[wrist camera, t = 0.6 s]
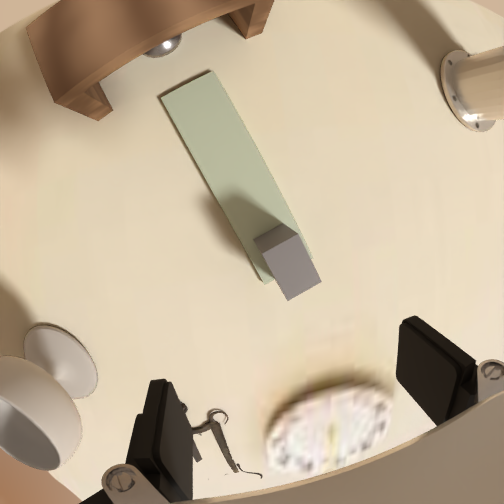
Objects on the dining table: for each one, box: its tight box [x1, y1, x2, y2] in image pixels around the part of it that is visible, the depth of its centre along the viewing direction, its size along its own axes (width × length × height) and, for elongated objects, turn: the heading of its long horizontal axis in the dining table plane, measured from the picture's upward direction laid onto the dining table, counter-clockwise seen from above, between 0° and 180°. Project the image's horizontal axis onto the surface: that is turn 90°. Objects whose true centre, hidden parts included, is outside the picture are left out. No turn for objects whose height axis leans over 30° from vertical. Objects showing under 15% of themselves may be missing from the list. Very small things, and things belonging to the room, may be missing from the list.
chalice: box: [0, 325, 98, 471], centre depth 26 cm, size 14×14×15 cm
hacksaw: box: [180, 402, 262, 478], centre depth 39 cm, size 24×10×2 cm, turn 8°
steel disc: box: [143, 33, 182, 58], centre depth 25 cm, size 5×5×1 cm
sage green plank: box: [161, 71, 321, 301], centre depth 27 cm, size 6×22×7 cm, turn 28°
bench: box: [26, 0, 274, 121], centre depth 21 cm, size 20×10×10 cm, turn 119°
